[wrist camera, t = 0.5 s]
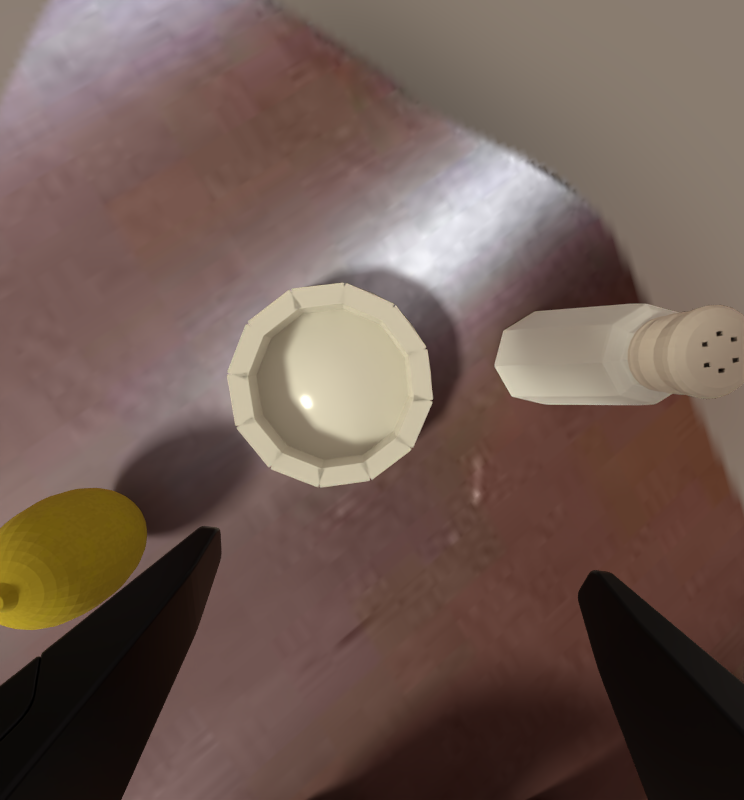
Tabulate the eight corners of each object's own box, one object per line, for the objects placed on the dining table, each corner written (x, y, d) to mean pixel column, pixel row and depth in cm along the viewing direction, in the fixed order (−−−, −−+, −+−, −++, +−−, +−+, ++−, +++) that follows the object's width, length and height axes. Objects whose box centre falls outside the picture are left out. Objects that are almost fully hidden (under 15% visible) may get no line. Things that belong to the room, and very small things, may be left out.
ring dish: (439, 465, 22) (449, 477, 20) (253, 490, 22) (240, 506, 20) (418, 275, 21) (425, 264, 19) (221, 299, 21) (204, 290, 18)
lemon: (150, 456, 22) (31, 510, 14) (188, 543, 22) (94, 644, 14) (58, 489, 21) (-117, 563, 13) (98, 575, 22) (-47, 695, 14)
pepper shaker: (588, 396, 22) (812, 427, 11) (499, 411, 22) (639, 456, 11) (578, 304, 22) (804, 243, 11) (487, 319, 22) (622, 272, 11)
